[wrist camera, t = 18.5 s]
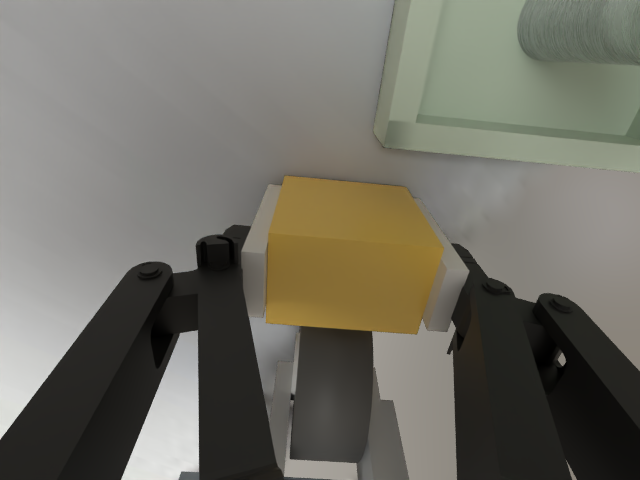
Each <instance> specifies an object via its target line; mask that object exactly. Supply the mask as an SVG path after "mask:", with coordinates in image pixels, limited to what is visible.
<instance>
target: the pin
mask: <svg viewBox="0 0 640 480" xmlns="http://www.w3.org/2000/svg"><path fill="white" fill-rule="evenodd" d="M517 35H518V41H519V44H520V47H521V48H522V50H523V51H524V53H525V54H526V55H528V56H529V57H531V58H532V59H535V60H539V61H555V62H575V63H595V64H615V65H634V66H640V0H527V1H526V3H525V4H524V6H523V8H522V11H521V13H520V16H519V20H518V26H517Z"/></svg>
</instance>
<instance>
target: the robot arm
mask: <svg viewBox="0 0 640 480" xmlns="http://www.w3.org/2000/svg"><path fill="white" fill-rule="evenodd" d="M281 187H282V185H272V184H269V185H268V187H267V190H266V192H265V194H264V197H263V199H262V202H261V204H260V207H259V209H258V212H257V214H256V216H255V219H254V221H253V224H252V226H241V225H233V226H231V227H230V228H228V229H226V230H225V232H224V234H223V235H210V236H206V237H203V238H201V239H200V240H199V241H197V244H196V254H197V266H198V269H197V270H193V271H189V272H181V273H173V272H172V268H171V267H170V265H168V264H166V263H163V262H146V263H142V264H139V265H137V266H135V267H133V268H131V269H130V270H129V271H128V272H127V273H126V275H125V276H124V277H123V279H122V280H121V281H120V283H119V284H118V285H117V286H116V288H115V289H114V290H113V292H112V293H111V294H110V296H109V297H108V298H107V300H106V301H105V302H104V304H103V305H102V306H101V308H100V309H99V310H98V312H97V313H96V314H95V316H94V317H93V318H92V319H91V321H90V322H89V323H88V325H87V326H86V327H85V329H84V330H83V331H82V333H81V334H80V335H79V337H78V338H77V339H76V341H75V342H74V343H73V345H72V346H71V347H70V349H69V350H68V351H67V352H66V354H65V355H64V356H63V358H62V359H61V360H60V362H59V363H58V364H57V366H56V367H55V368H54V370H53V371H52V372H51V374H50V375H49V376H48V378H47V379H46V380H45V381H44V383H43V384H42V385H41V387H40V388H39V389H38V391H37V392H36V393H35V395H34V396H33V397H32V399H31V400H30V401H29V403H28V404H27V405H26V407H25V408H24V409H23V411H22V412H21V413H20V414H19V416H18V417H17V418H16V420H15V421H14V422H13V424H12V425H11V426H10V428H9V429H8V430H7V432H6V433H5V434H4V436H3V437H2V438H1V440H0V480H121V478H122V476H123V473H124V471H125V468H126V466H127V463H128V461H129V458H130V456H131V453H132V451H133V448H134V446H135V444H136V441H137V439H138V436H139V434H140V431H141V429H142V426H143V424H144V421H145V419H146V416H147V414H148V412H149V409H150V407H151V404H152V402H153V399H154V397H155V394H156V392H157V389H158V387H159V384H160V382H161V379H162V377H163V375H164V372H165V370H166V367H167V365H168V362H169V360H170V357H171V355H172V352H173V350H174V347H175V345H176V343H177V340H178V338H179V334H180V333H183V332H189V331H195V330H198V376H199V480H284V476H283V473H282V470H281V469H280V468H279V467H278V465H277V462H276V457H275V452H274V447H273V442H272V436H271V431H270V426H269V421H268V415H267V410H266V405H265V400H264V395H263V389H262V384H261V379H260V374H259V368H258V363H257V358H256V353H255V347H254V342H253V337H252V332H251V327H250V321H249V317H262V318H263V316H264V311H265V307H266V299H267V263H268V232H269V229H270V225H271V222H272V218H273V215H274V211H275V208H276V204H277V201H278V197H279V194H280V190H281ZM413 199H414V200H415V202H416V204H417V205H418V207H419V208H420V210H421V212H422V213H423V215H424V216H425V218H426V220H427V221H428V223H429V224H430V226H431V228H432V229H433V231H434V232H435V234H436V236H437V237H438V239H439V240H440V242H441V244H442V245H443V247H444V251H443V254H442V257H441V260H440V263H439V266H438V269H437V272H436V276H435V279H434V282H433V285H432V288H431V291H430V295H429V298H428V301H427V304H426V307H425V310H424V313H423V317H422V318H423V321H424V323H425V326H426V329H427V330H428V331H441V332H447V331H448V328H449V325H450V323H451V320H452V321H453V323H454V325H455V327H456V330H455V333H454V335H453V338H452V341H451V343H450V346H449V349H448V352H447V354H450V353H451V351H452V350H453V367H454V398H455V427H456V459H457V480H572V478H571V475H570V472H569V468H568V465H567V462H568V464H569V465H570V468H571V469H572V471H573V473H574V475H575V476H576V479H577V480H640V371H639V370H638V369H637V368H636V367H635V366H634V365H633V364H632V363H631V362H630V360H629V359H628V358H627V357H626V356H625V355H624V354H623V353H622V352H621V351H620V350H619V349H618V348H617V346H616V345H615V344H614V343H613V342H612V341H611V340H610V339H609V338H608V337H607V336H606V335H605V334H604V332H603V331H602V330H601V329H600V328H599V327H598V326H597V325H596V324H595V323H594V322H593V321H592V320H591V318H590V317H589V316H588V315H587V314H586V313H585V312H584V311H583V310H582V309H581V308H580V307H579V306H578V305H577V304H575V303H574V302H572V301H570V300H569V299H568V298H566V297H562V296H560V295H555V294H551V293H544V294H541V295H540V296H539V298H538V300H537V302H536V303H533V302H529V301H526V300H522V299H518V298H515V295H514V293H513V291H512V289H511V288H509V287H508V286H507V285H506V284H504V283H502V282H500V281H498V280H495V279H492V278H488V277H487V275H486V274H485V273H484V271H483V270H482V269H481V267H480V266H479V265H478V264H477V262H476V261H475V259H473V257H472V255H471V254H470V253H469V251H468V250H467V249H465V248H464V247H462V246H461V245H459V244H452V243H450V242H449V240H448V239H447V238H446V236H445V235H444V233H443V232H442V230H441V229H440V227H439V226H438V224H437V223H436V221H435V220H434V219H433V217H432V216H431V214H430V213H429V211H428V210H427V208H426V207H425V205H424V204H423V202H422V201H421V200H420V198H413ZM561 353H563V354H564V356H565V358H566V363H565V365H564V366H563V367H562V365H561V364H560V363H559V361H558V358H559V356H560V355H561ZM565 458H566V459H565ZM566 460H567V462H566Z"/></svg>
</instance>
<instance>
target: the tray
mask: <svg viewBox="0 0 640 480" xmlns="http://www.w3.org/2000/svg"><path fill="white" fill-rule="evenodd" d="M526 1H527V0H395V3H394V9H393V15H392V21H391V27H390V33H389V39H388V45H387V51H386V57H385V63H384V69H383V75H382V80H381V86H380V92H379V98H378V104H377V110H376V116H375V122H374V128H373V132H374V134H375V135H376V137H377V138H378V140H379V141H380V143H381V144H382V146H383V147H384V148H393V149H403V150H413V151H423V152H433V153H443V154H453V155H463V156H474V157H484V158H494V159H504V160H514V161H524V162H534V163H544V164H554V165H564V166H574V167H584V168H594V169H604V170H615V171H625V172H635V173H640V66H634V65H615V64H595V63H575V62H555V61H539V60H535V59H532V58H531V57H529V56H528V55H526V54H525V53H524V51H523V50H522V48H521V47H520V44H519V41H518V35H517V26H518V20H519V16H520V13H521V11H522V8H523V6H524V4H525V3H526Z"/></svg>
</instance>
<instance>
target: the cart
mask: <svg viewBox="0 0 640 480" xmlns="http://www.w3.org/2000/svg"><path fill="white" fill-rule="evenodd" d="M290 400H294V404H293V417H292V431H291V445H290V459H295V460H312V461H330V462H349V463H357V474H358V480H409V476H408V471H407V466H406V461H405V456H404V452H403V447H402V442H401V437H400V432H399V427H398V423H397V418H396V413H395V408H394V403H393V401H390V400H380V395H379V388H378V383H377V377H376V371H375V368H373V338H372V331H364V330H350V329H337V328H323V327H310V326H300V332H299V333H297V332H296V341H295V352H294V362H287V361H278V364H277V372H276V379H275V386H274V393H273V401H272V408H271V415H270V423H269V426H270V431H271V436H272V442H273V447H274V452H275V457H276V462H277V465H278V467H279V468H280V469H281V470H282V473H283V476H284V468H285V457H286V445H287V433H288V422H289V410H290ZM179 480H199V472H181V474H180V477H179ZM284 480H330V479H311V478H293V477H284Z"/></svg>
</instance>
